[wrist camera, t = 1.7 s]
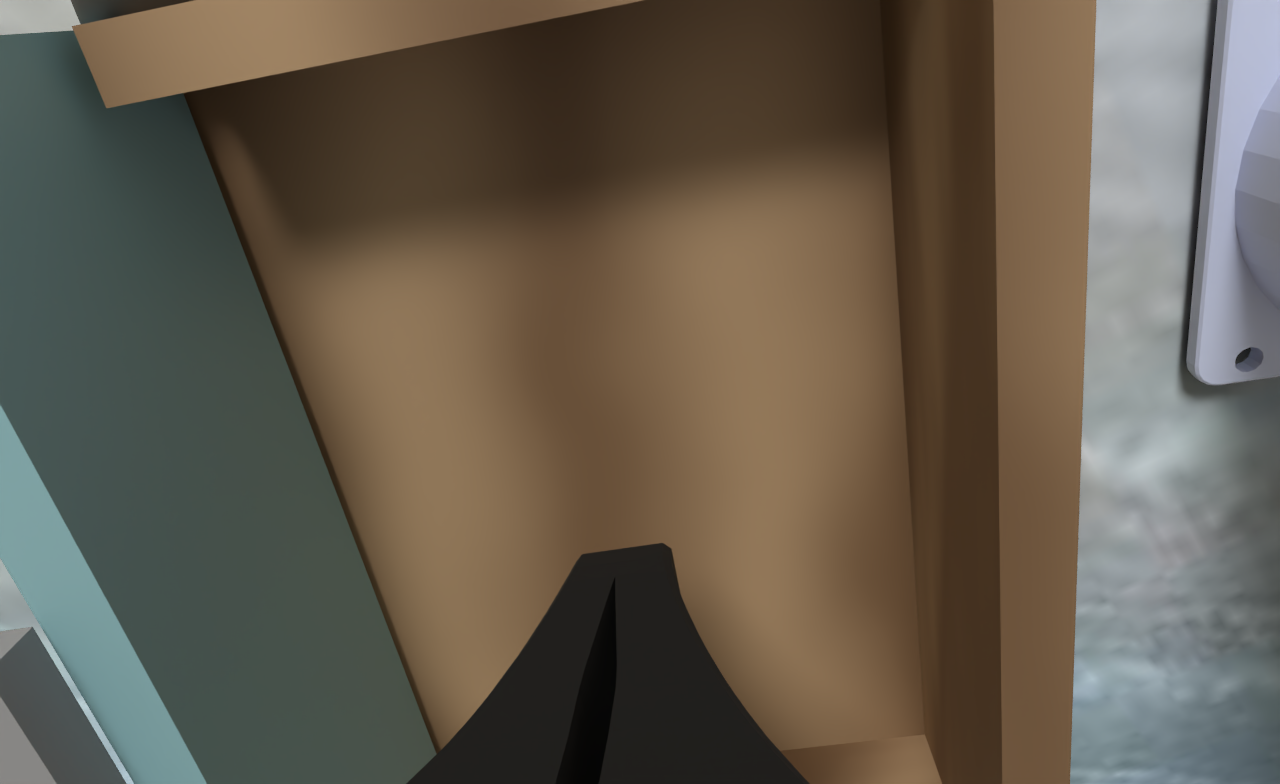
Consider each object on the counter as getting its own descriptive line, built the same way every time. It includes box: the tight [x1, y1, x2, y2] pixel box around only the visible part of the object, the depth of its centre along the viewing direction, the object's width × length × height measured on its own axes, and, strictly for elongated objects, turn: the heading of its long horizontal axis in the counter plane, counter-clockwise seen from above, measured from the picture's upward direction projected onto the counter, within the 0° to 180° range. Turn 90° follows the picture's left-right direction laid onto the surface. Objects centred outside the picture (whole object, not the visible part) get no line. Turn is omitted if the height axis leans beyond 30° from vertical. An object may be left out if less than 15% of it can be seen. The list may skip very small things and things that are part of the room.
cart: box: [71, 0, 1096, 784], centre depth 15 cm, size 13×20×7 cm, turn 10°
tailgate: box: [0, 31, 436, 784], centre depth 14 cm, size 2×18×7 cm, turn 10°
